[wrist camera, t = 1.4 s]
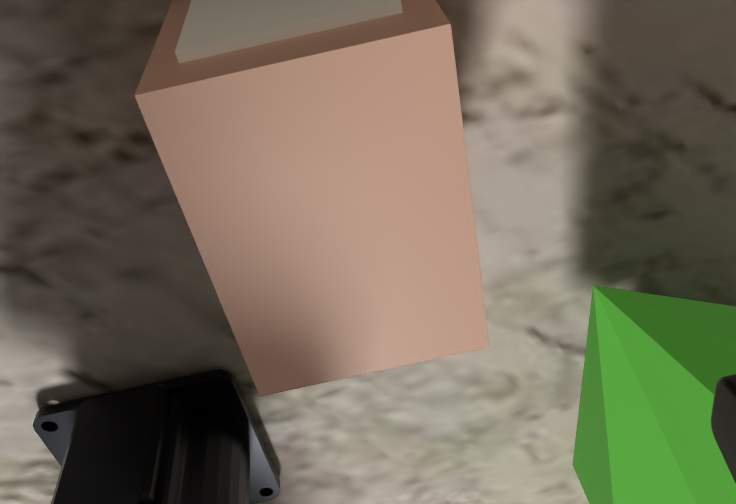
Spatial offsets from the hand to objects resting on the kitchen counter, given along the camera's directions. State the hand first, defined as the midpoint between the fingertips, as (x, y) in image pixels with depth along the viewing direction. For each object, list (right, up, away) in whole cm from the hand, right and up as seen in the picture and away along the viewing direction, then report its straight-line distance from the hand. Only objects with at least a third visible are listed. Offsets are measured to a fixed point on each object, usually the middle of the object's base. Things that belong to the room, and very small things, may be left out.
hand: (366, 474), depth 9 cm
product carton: (-1, +6, +9) cm, 11 cm away
